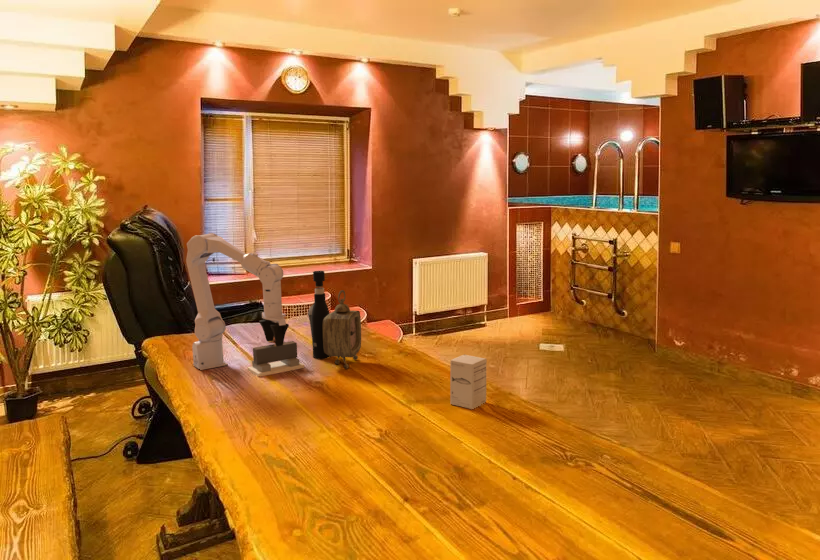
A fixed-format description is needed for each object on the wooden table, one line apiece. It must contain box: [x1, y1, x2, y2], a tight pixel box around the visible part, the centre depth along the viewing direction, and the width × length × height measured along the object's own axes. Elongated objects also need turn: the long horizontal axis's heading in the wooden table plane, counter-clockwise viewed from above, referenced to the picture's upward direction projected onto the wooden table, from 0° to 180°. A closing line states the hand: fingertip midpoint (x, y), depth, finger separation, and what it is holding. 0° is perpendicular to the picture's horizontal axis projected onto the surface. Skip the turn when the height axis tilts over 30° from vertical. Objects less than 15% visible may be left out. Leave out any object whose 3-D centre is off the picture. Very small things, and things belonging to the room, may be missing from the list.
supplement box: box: [449, 354, 488, 410], centre depth 174 cm, size 7×7×13 cm
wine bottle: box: [311, 270, 332, 360], centre depth 223 cm, size 6×6×30 cm
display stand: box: [247, 357, 305, 377], centre depth 211 cm, size 16×9×3 cm, turn 125°
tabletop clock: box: [323, 290, 362, 370], centre depth 213 cm, size 14×9×25 cm, turn 168°
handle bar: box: [252, 340, 298, 365], centre depth 210 cm, size 14×3×5 cm, turn 125°
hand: (274, 343), depth 210 cm, fingers open, 7 cm apart
